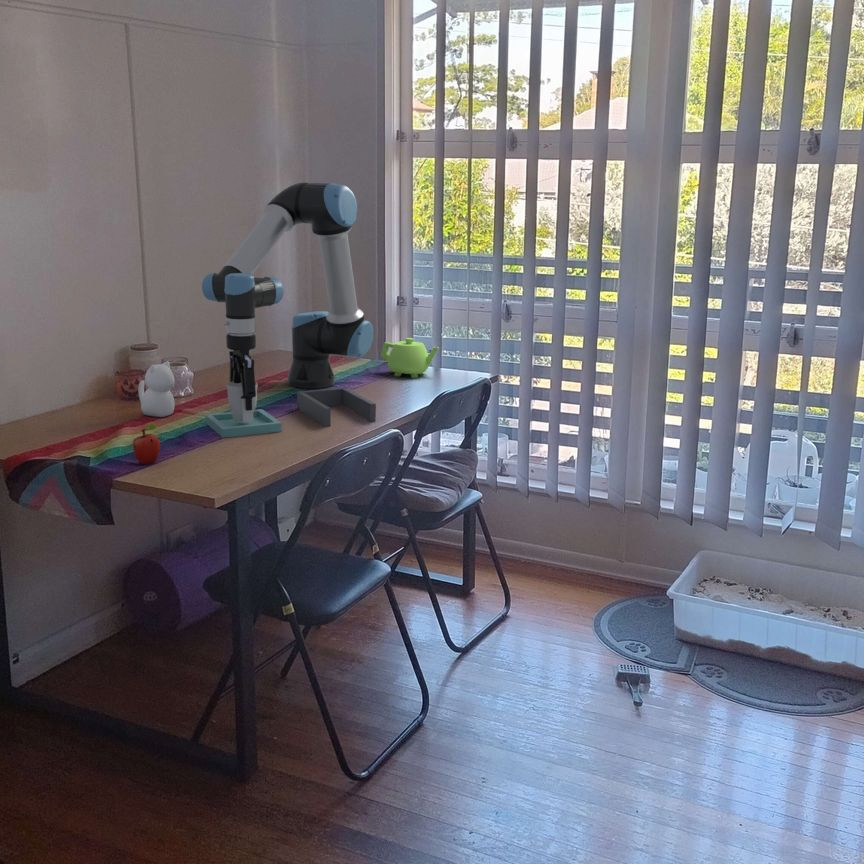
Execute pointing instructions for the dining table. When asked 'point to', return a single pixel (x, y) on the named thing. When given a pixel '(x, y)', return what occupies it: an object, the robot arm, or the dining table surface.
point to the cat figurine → (157, 391)
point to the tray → (243, 424)
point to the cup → (238, 400)
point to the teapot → (408, 357)
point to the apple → (146, 446)
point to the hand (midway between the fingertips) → (243, 417)
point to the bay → (334, 404)
